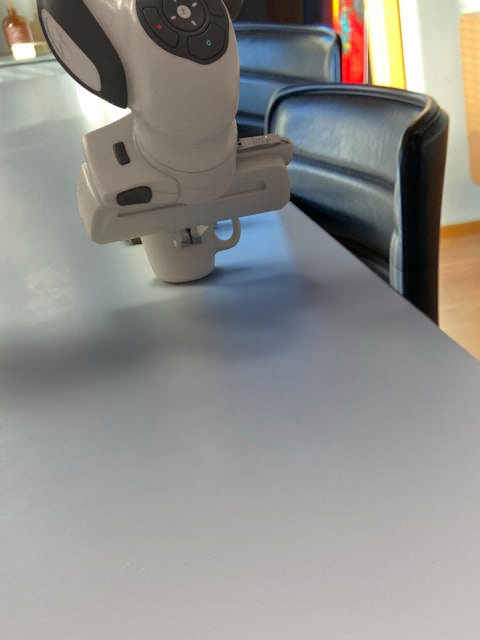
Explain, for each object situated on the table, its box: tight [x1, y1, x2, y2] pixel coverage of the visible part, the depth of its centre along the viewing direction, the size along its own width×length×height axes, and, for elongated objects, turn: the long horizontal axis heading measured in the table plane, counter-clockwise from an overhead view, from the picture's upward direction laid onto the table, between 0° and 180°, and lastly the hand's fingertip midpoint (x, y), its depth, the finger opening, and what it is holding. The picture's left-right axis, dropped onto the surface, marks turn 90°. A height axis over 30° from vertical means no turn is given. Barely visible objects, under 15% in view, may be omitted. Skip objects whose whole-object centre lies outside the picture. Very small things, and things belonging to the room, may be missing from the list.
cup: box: [140, 218, 242, 283], centre depth 108 cm, size 11×8×8 cm
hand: (188, 240), depth 105 cm, fingers closed
